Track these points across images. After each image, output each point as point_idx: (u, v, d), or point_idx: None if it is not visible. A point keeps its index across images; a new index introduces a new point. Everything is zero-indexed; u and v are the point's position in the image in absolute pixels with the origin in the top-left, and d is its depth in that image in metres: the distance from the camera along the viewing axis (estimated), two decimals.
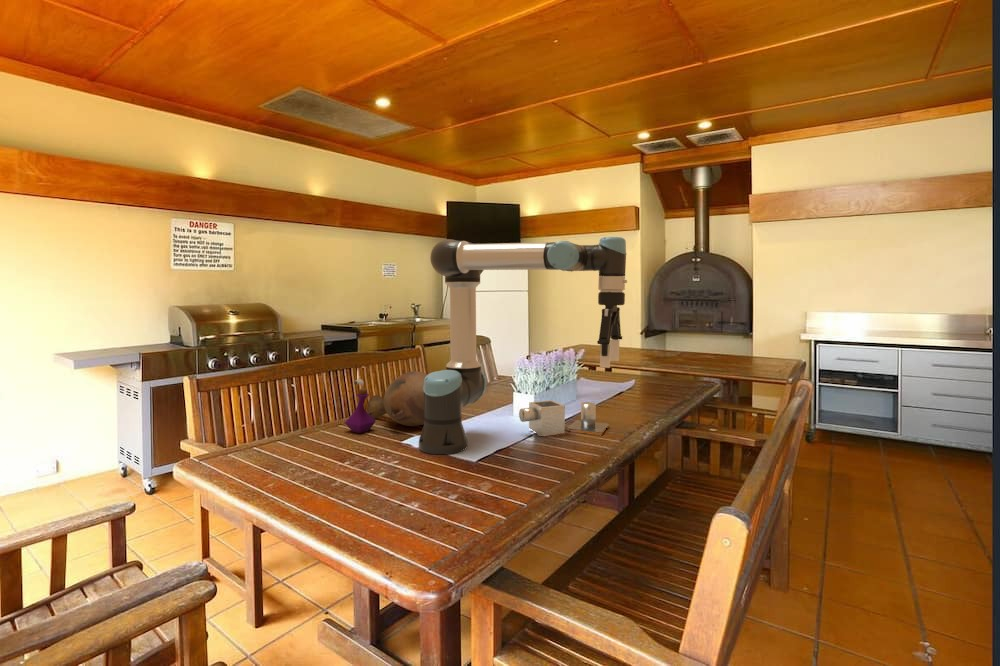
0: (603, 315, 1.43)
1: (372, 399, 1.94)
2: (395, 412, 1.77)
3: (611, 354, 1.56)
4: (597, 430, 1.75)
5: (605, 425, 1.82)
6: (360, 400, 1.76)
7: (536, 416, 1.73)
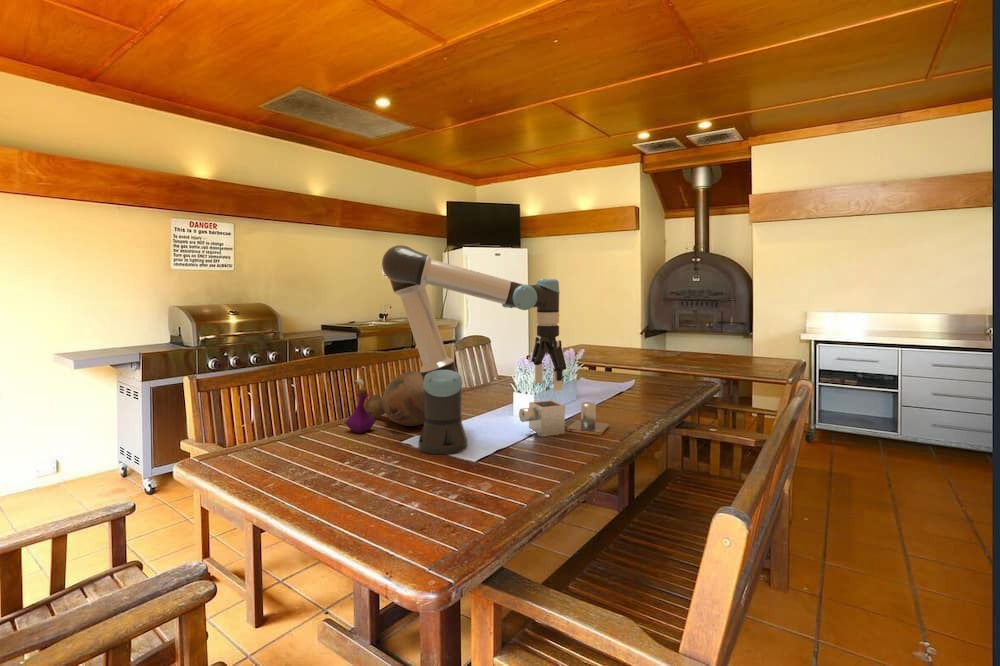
0: (556, 346, 1.68)
1: (371, 399, 1.94)
2: (393, 412, 1.78)
3: (537, 377, 1.81)
4: (597, 430, 1.75)
5: (605, 425, 1.82)
6: (360, 400, 1.76)
7: (536, 416, 1.73)
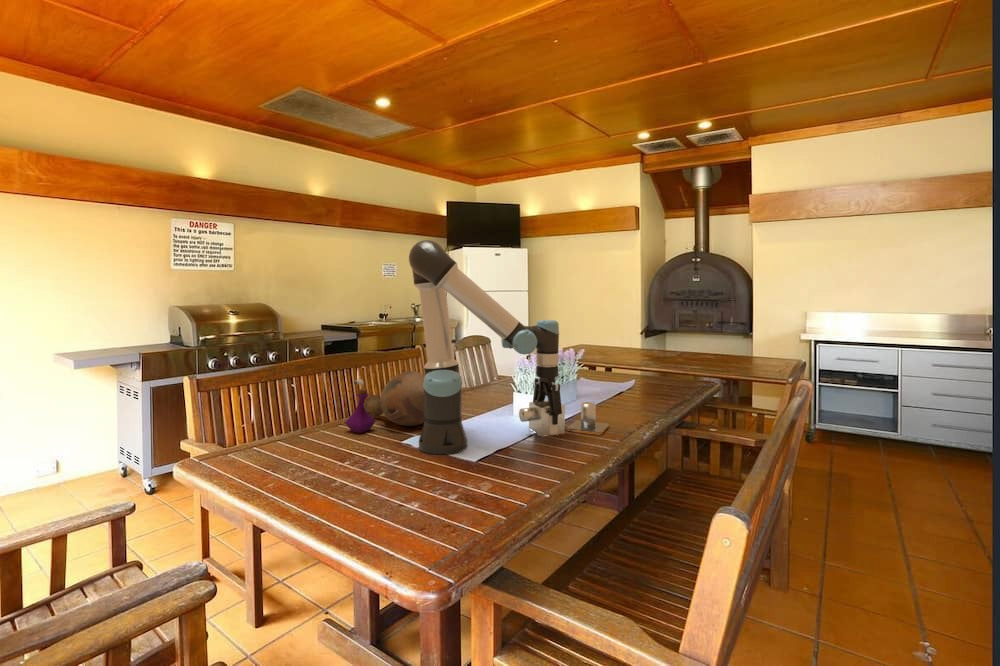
0: (554, 390, 1.69)
1: (370, 399, 1.95)
2: (391, 412, 1.78)
3: None
4: (597, 430, 1.75)
5: (605, 425, 1.82)
6: (360, 400, 1.76)
7: (536, 416, 1.73)
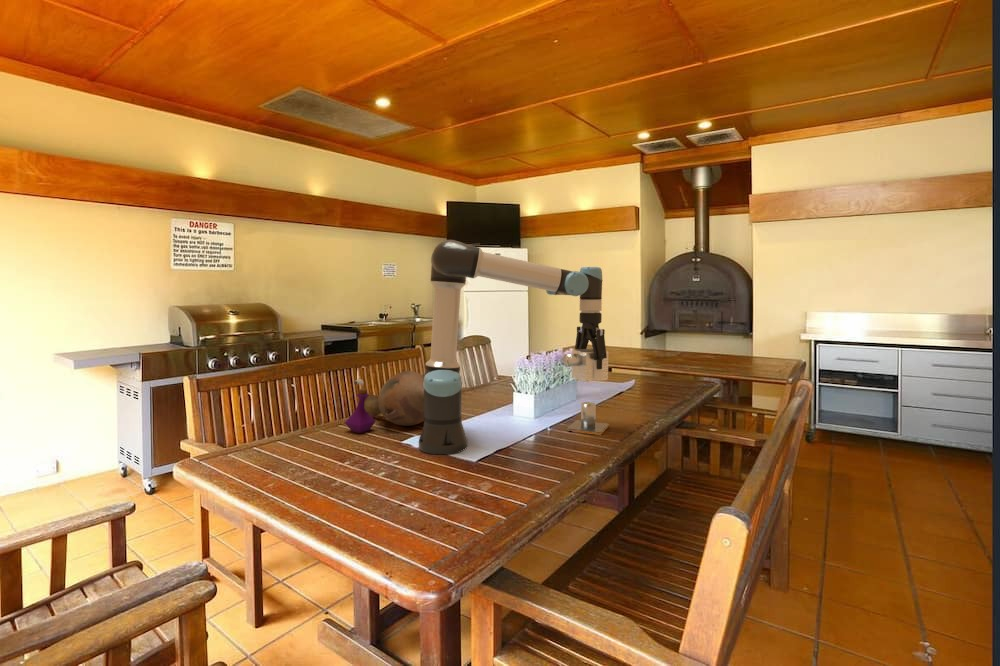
0: (599, 335, 1.72)
1: (368, 399, 1.95)
2: (389, 412, 1.78)
3: None
4: (597, 430, 1.75)
5: (605, 425, 1.82)
6: (360, 400, 1.76)
7: (580, 361, 1.75)
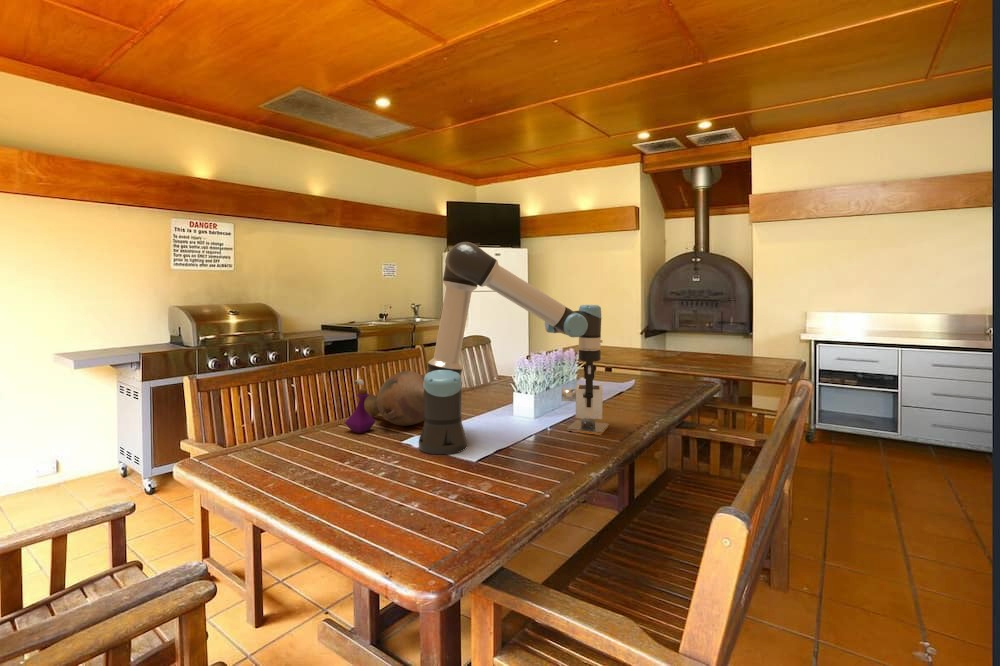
0: (587, 373, 1.73)
1: (367, 399, 1.95)
2: (387, 411, 1.78)
3: None
4: (597, 430, 1.75)
5: (605, 425, 1.82)
6: (360, 400, 1.76)
7: (574, 397, 1.79)
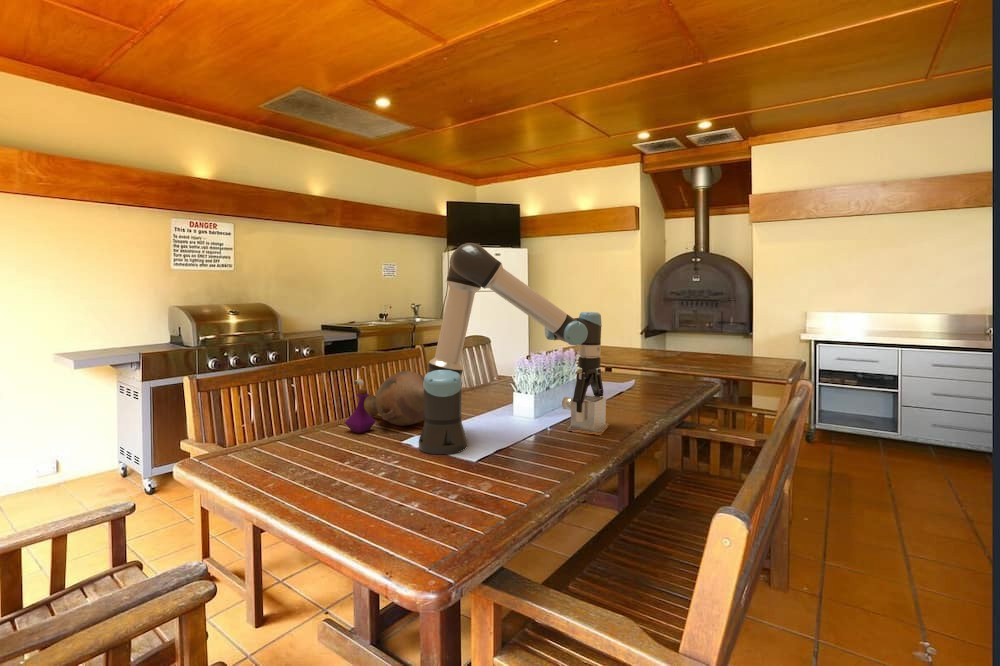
0: (578, 378, 1.74)
1: (366, 399, 1.95)
2: (386, 411, 1.78)
3: None
4: (597, 430, 1.75)
5: (605, 425, 1.82)
6: (360, 400, 1.76)
7: None
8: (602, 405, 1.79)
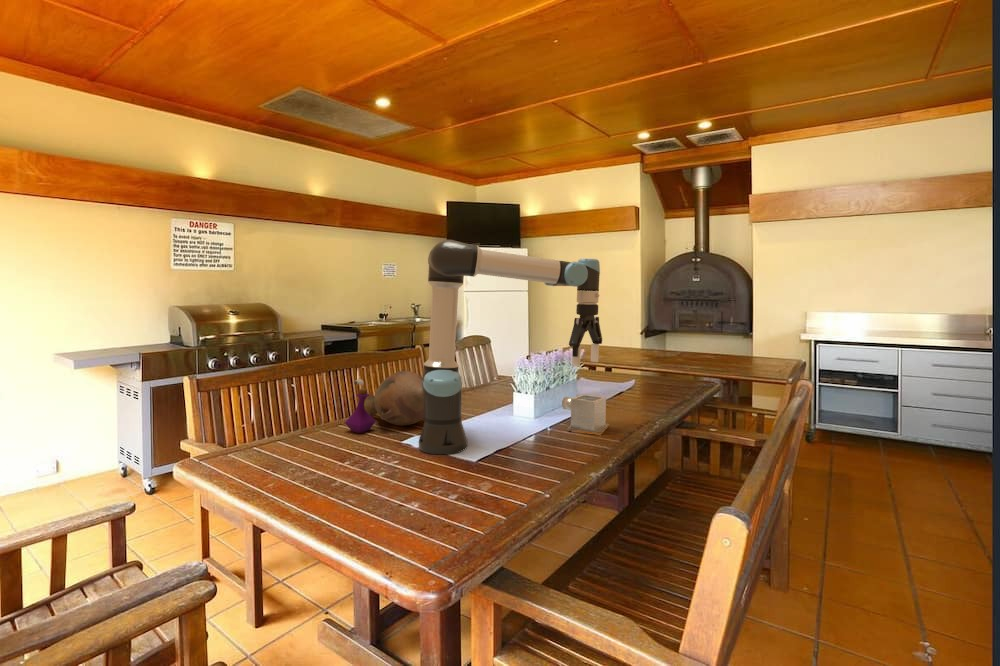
0: (575, 323, 1.74)
1: None
2: (384, 411, 1.79)
3: (592, 356, 1.86)
4: (597, 430, 1.75)
5: (605, 425, 1.82)
6: (360, 400, 1.76)
7: None
8: (602, 405, 1.79)
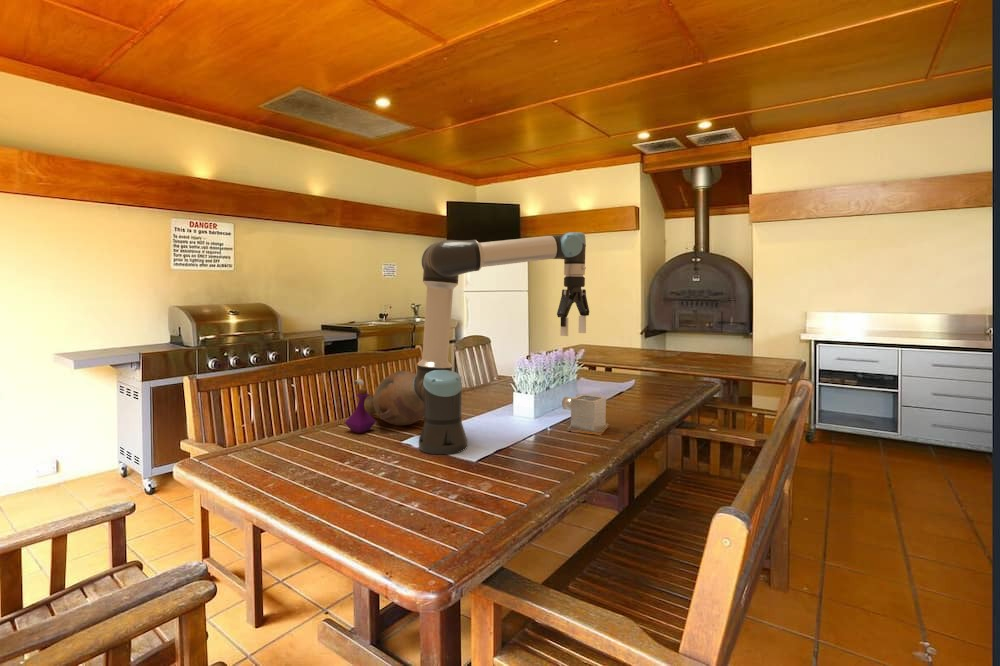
0: (562, 294, 1.81)
1: None
2: (383, 411, 1.79)
3: (579, 327, 1.93)
4: (597, 430, 1.75)
5: (605, 425, 1.82)
6: (360, 400, 1.76)
7: None
8: (602, 405, 1.79)
